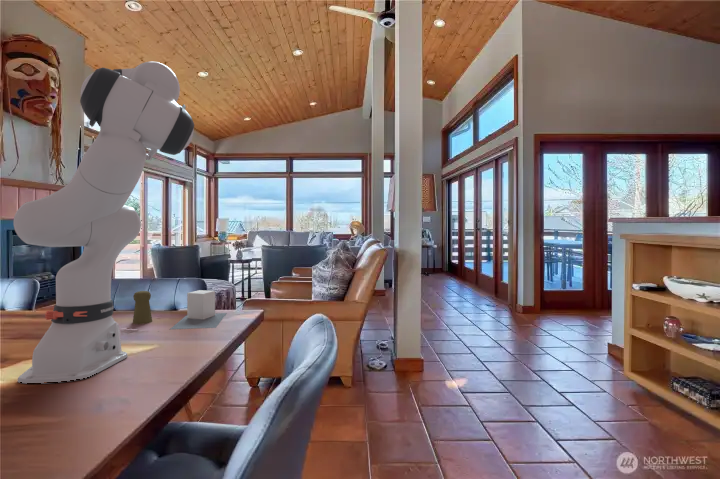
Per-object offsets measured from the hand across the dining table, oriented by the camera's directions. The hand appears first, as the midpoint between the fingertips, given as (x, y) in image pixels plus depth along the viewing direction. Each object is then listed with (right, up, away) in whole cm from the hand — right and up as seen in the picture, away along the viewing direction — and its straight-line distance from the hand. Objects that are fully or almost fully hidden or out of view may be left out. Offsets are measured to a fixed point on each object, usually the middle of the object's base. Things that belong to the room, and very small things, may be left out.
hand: (133, 158), depth 133 cm
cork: (+2, -56, +2) cm, 56 cm away
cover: (+19, -55, +10) cm, 59 cm away
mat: (+21, -56, +4) cm, 60 cm away
